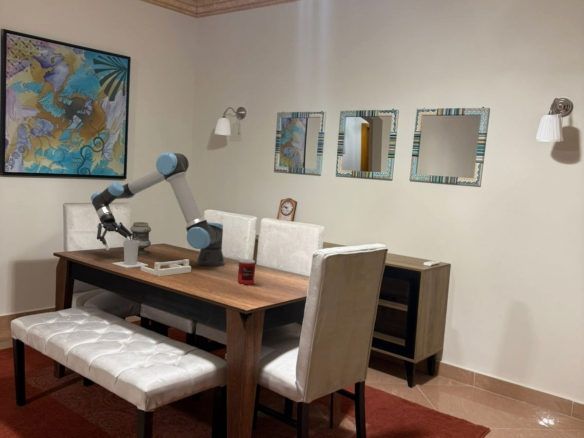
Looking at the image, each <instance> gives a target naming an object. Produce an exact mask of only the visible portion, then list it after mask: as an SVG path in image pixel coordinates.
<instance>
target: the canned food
mask: <svg viewBox="0 0 584 438" xmlns="http://www.w3.org/2000/svg"><path fill="white" fill-rule="evenodd" d="M255 272H256V260H254V259H249V258H248V259H247V258H246V259H245V258H244V259H243V258H242V259H239V260H238V271H237V273H238V274H237V275H238V276H237V282H238V284H239V285H241V284H244V285H243V286H251V285H250V284H253V285H254V283H255V274H256V273H255Z"/></svg>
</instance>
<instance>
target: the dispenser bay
mask: <svg viewBox="0 0 584 438" xmlns="http://www.w3.org/2000/svg"><path fill="white" fill-rule="evenodd" d="M181 264H182V265H181ZM161 266H169V267H168V268H161ZM153 267H154V268H150V267H148V266H141V267H140V271H141V272H145V273H147V274H151V275H154V276H156V277H164V276H172V275H181V274H187V273H192V266H191V265H190V259H187V258H186V259H180V260H173V261H163V262H157V261H156V262H154V266H153Z"/></svg>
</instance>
